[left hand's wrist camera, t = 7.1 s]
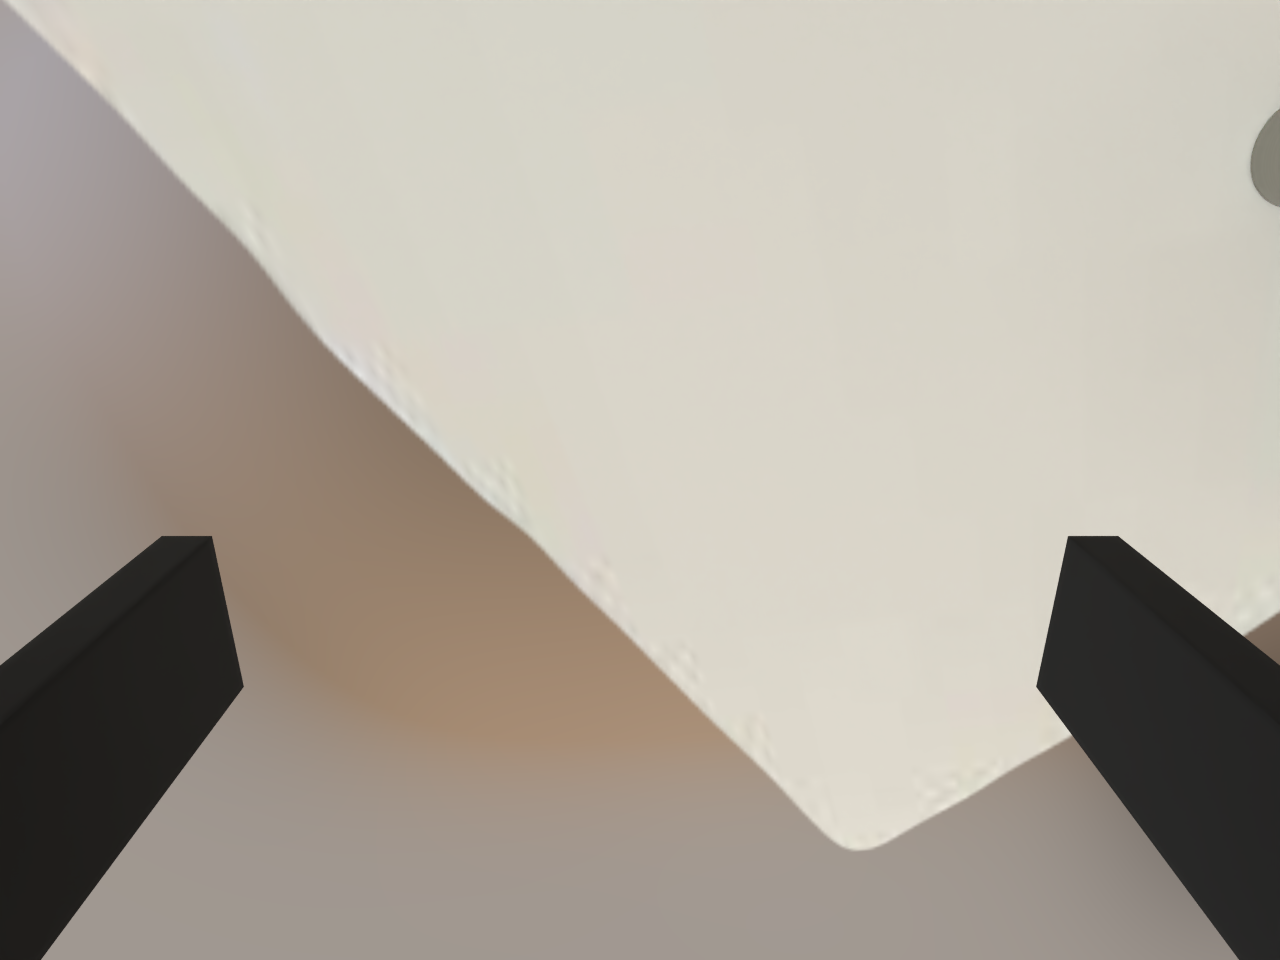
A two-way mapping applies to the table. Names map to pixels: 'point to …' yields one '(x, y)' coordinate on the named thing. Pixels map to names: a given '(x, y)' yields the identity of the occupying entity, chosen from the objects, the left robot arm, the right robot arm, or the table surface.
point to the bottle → (1268, 161)
